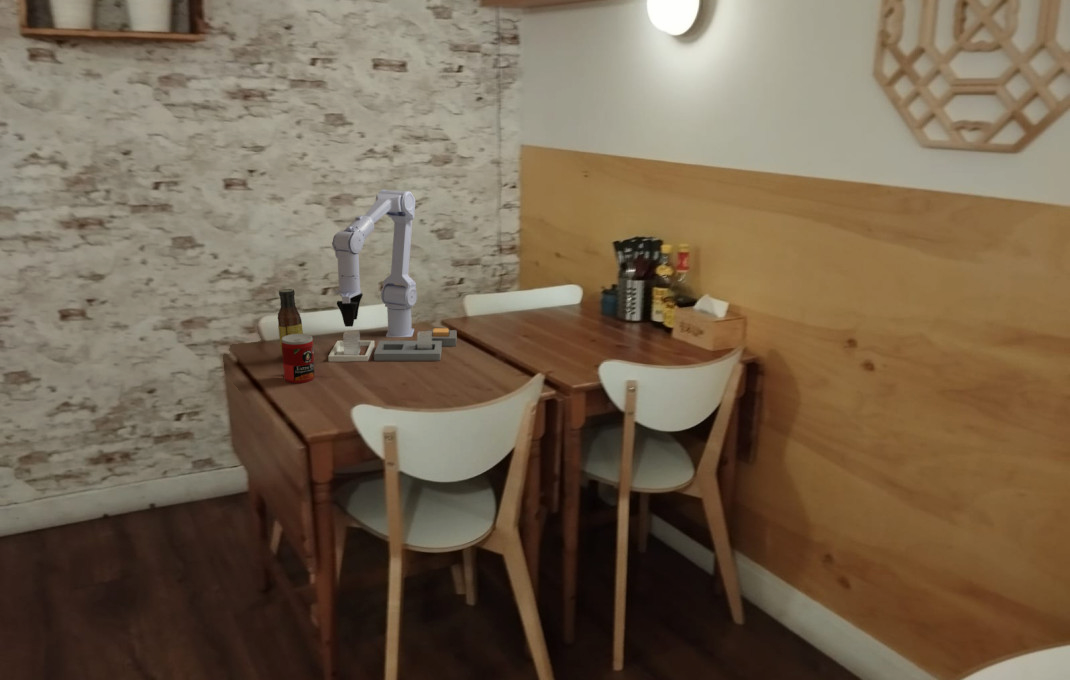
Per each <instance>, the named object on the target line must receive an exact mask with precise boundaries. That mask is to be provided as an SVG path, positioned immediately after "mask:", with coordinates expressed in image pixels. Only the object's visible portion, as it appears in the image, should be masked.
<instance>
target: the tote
mask: <svg viewBox="0 0 1070 680" xmlns="http://www.w3.org/2000/svg"><path fill="white" fill-rule="evenodd" d="M360 347H368V348H367V350H366V352H365V354H361V355H360V354H359V355H344V342H343V340H337V341H336V342H335V344H334V346H333V348H332V349H331V351H330V353H329V355H328V357H327V358H328V359H327V360H328V362H329V363H331V362H332V363H338V362H339V363H342V362H346V363H348V362H349V363H350V362H368V361H369V359H370V358H371V354H372V352H373V351H374V348H375V340H360Z"/></svg>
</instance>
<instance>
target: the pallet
mask: <svg viewBox="0 0 1070 680" xmlns="http://www.w3.org/2000/svg"><path fill="white" fill-rule="evenodd" d="M432 348H433V350H417V340H378V343H377V346H376V348H375V349H374V353H373V361H374V362H408V361H409V362H410V361H412V362H418V361H419V362H420V361H421V362H425V361H427V362H429V361H430V362H432V361H433V362H438V361H439V362H441V356H442V350H443V346H442V341H432Z"/></svg>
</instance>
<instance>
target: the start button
mask: <svg viewBox="0 0 1070 680" xmlns="http://www.w3.org/2000/svg"><path fill="white" fill-rule="evenodd" d="M432 330H433V337H449V330H450V329H449V328H441V327H440V328H439V327H437V328H434V327H433V329H432Z"/></svg>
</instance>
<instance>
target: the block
mask: <svg viewBox="0 0 1070 680" xmlns="http://www.w3.org/2000/svg"><path fill="white" fill-rule="evenodd" d="M416 341H417V350H433V348H432V331H427V330H426V331H421V330H420V331H417V334H416Z"/></svg>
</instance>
